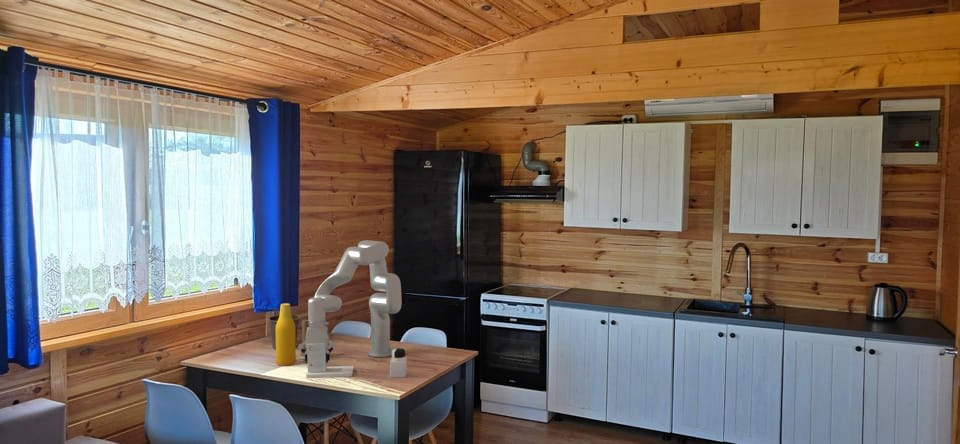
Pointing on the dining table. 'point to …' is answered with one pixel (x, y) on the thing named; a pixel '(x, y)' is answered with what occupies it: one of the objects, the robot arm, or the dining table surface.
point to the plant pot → (273, 323)
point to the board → (332, 372)
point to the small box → (316, 357)
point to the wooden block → (304, 334)
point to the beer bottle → (285, 337)
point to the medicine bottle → (398, 363)
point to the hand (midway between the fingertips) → (317, 362)
